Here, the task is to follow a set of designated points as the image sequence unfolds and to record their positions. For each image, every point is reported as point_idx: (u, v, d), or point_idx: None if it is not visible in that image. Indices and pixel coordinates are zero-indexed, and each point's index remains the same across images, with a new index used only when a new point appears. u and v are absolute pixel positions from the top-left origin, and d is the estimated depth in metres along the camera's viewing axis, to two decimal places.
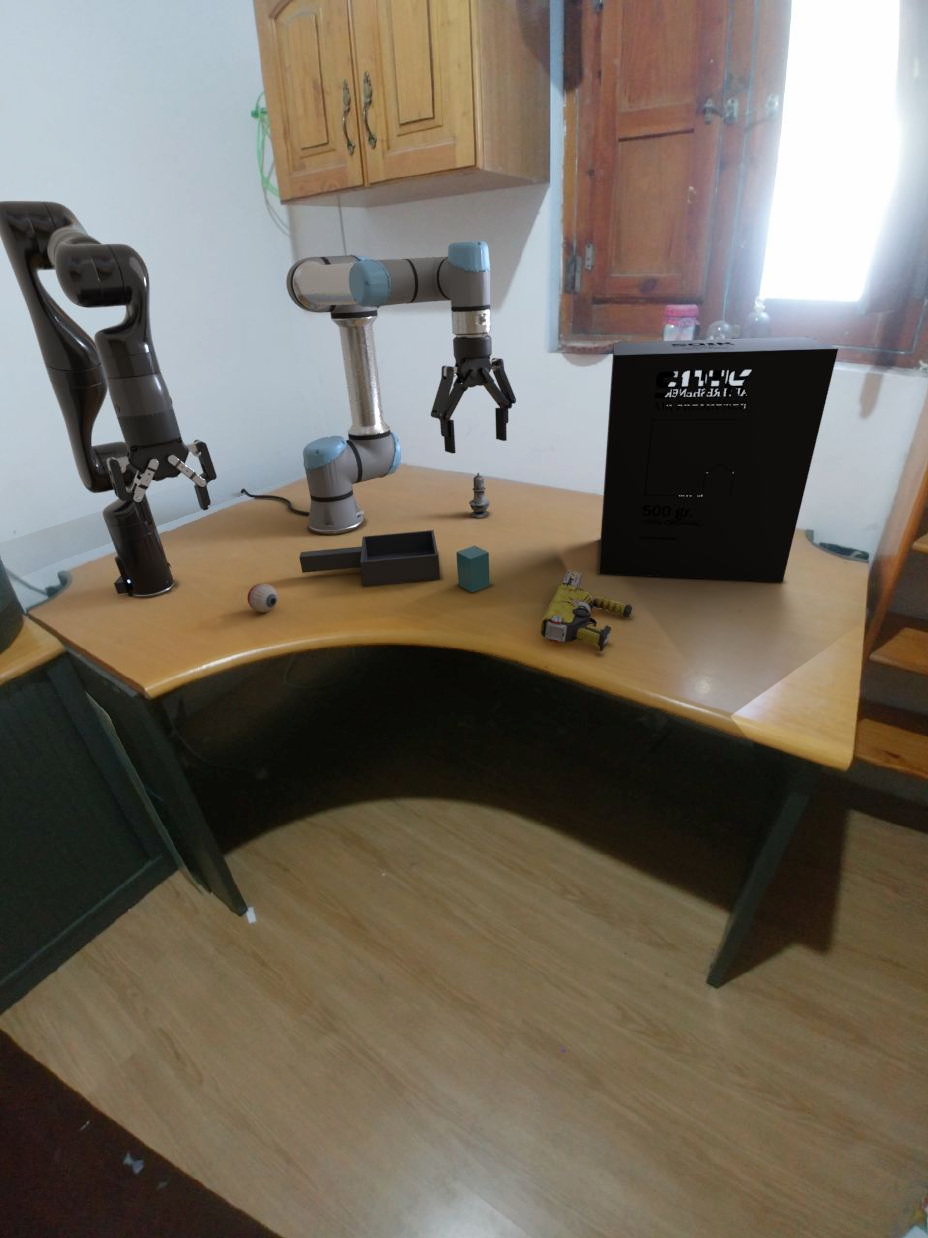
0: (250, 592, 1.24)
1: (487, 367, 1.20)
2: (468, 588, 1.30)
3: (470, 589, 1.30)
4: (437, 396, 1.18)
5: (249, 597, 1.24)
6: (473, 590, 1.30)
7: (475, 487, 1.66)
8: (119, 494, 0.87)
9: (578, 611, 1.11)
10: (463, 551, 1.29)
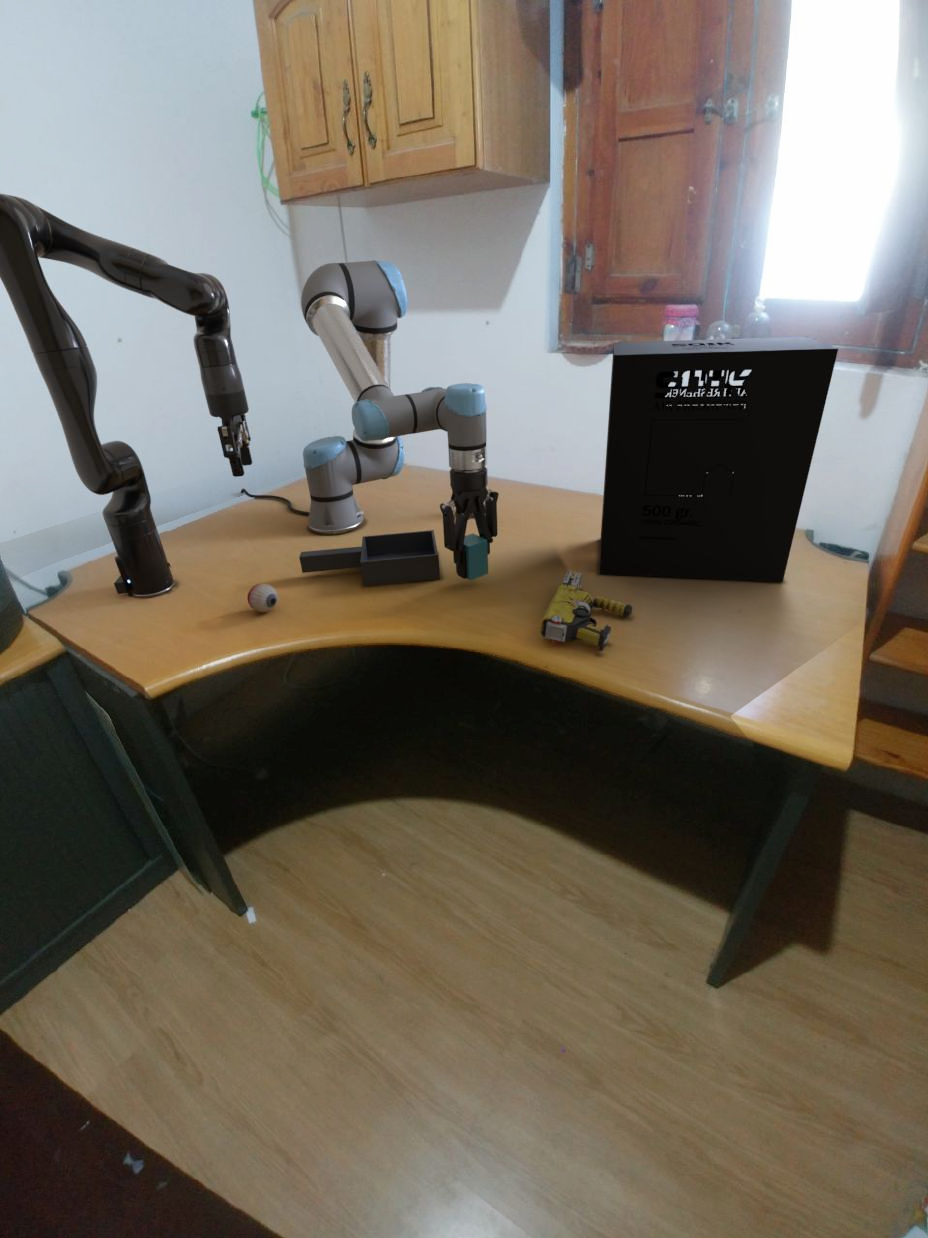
0: (250, 592, 1.24)
1: (483, 495, 1.23)
2: None
3: (468, 577, 1.29)
4: (444, 531, 1.23)
5: (249, 597, 1.24)
6: (471, 578, 1.29)
7: None
8: None
9: (578, 611, 1.11)
10: None
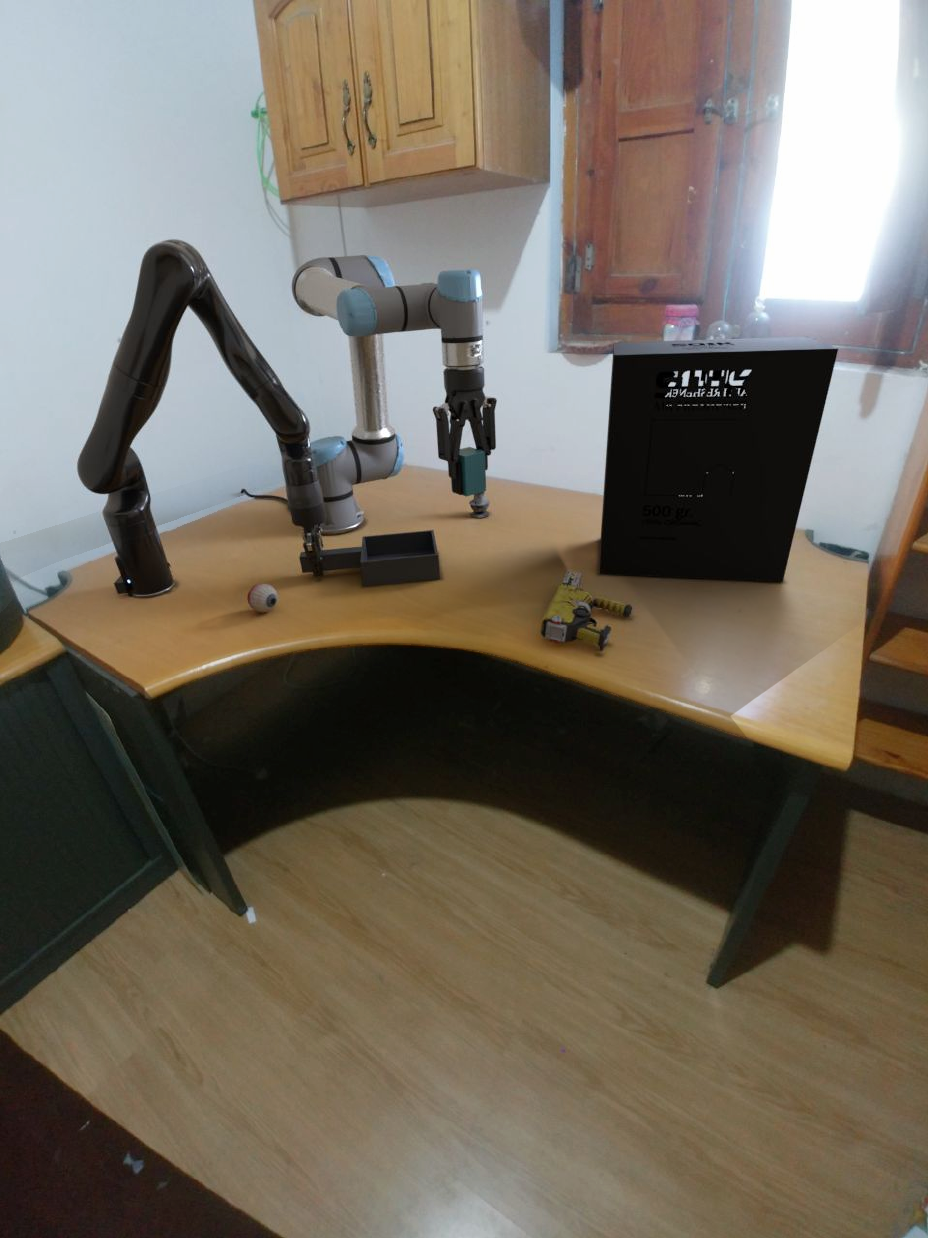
0: (250, 592, 1.24)
1: (480, 399, 1.14)
2: None
3: (464, 492, 1.19)
4: (438, 439, 1.14)
5: (249, 597, 1.24)
6: (468, 494, 1.19)
7: None
8: None
9: (578, 611, 1.11)
10: None
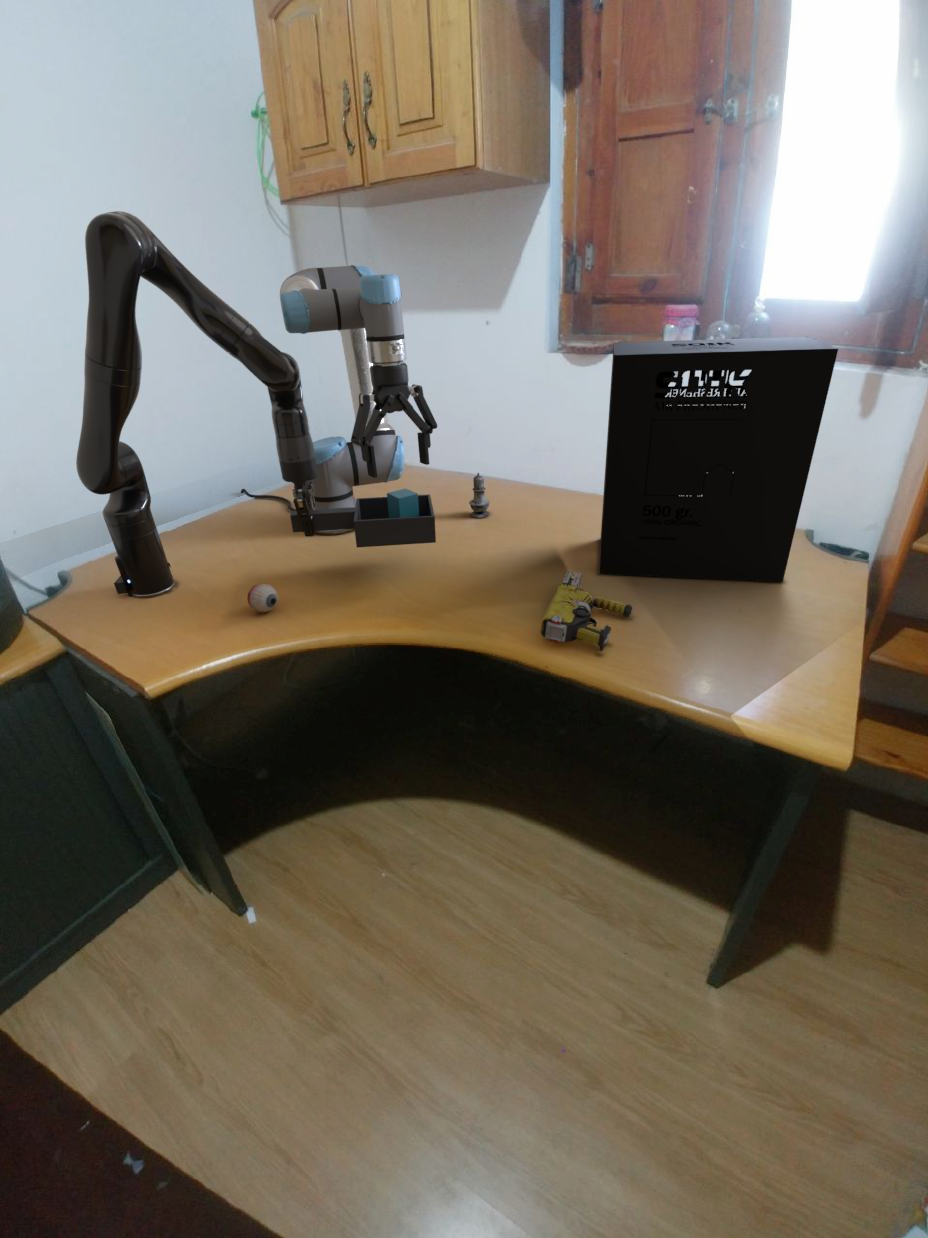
0: (250, 592, 1.24)
1: (405, 393, 1.23)
2: None
3: None
4: (355, 423, 1.21)
5: (249, 597, 1.24)
6: None
7: (475, 487, 1.66)
8: None
9: (578, 611, 1.11)
10: (393, 492, 1.34)
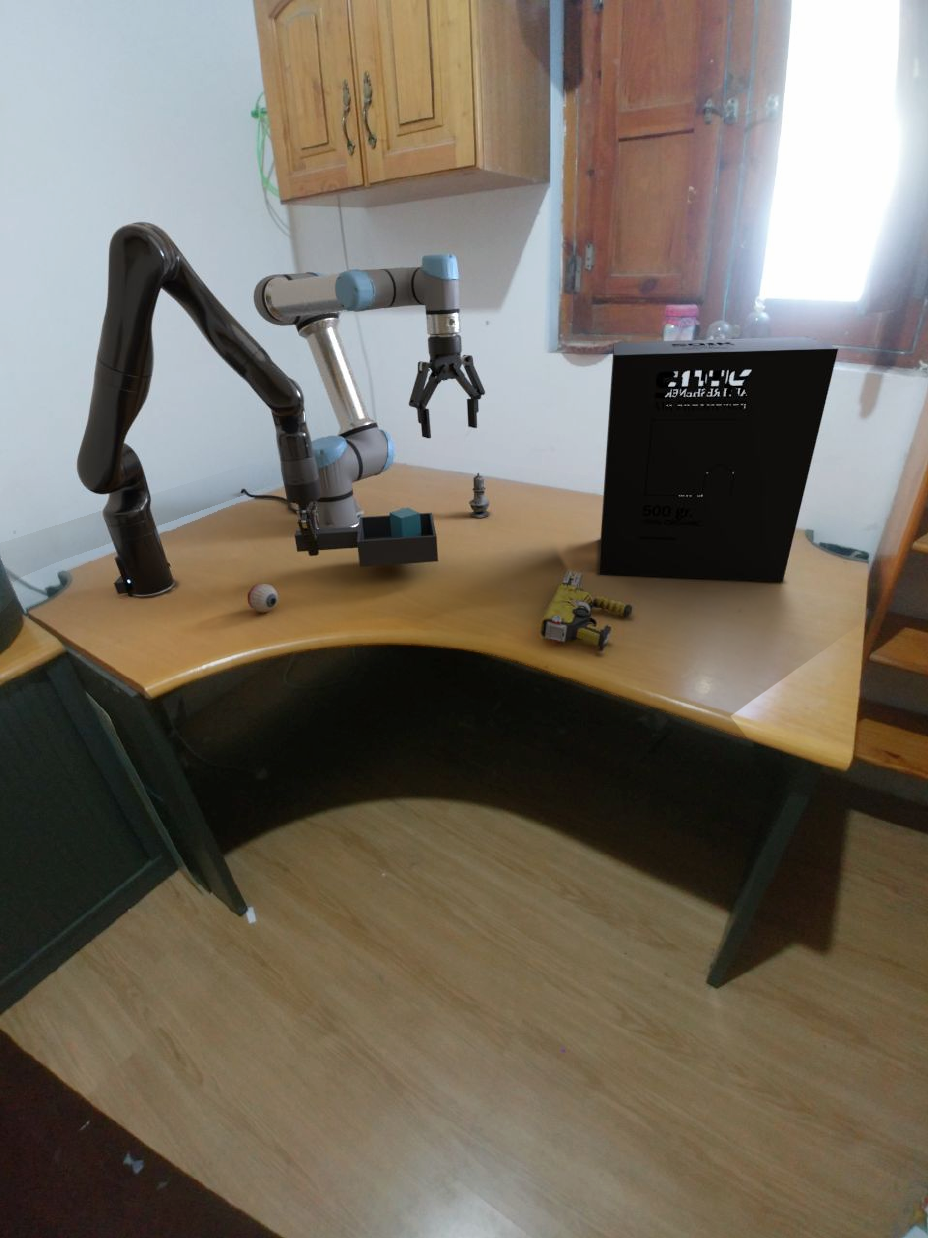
0: (250, 592, 1.24)
1: (458, 363, 1.38)
2: None
3: None
4: (414, 388, 1.36)
5: (249, 597, 1.24)
6: None
7: (475, 487, 1.66)
8: None
9: (578, 611, 1.11)
10: (396, 512, 1.36)
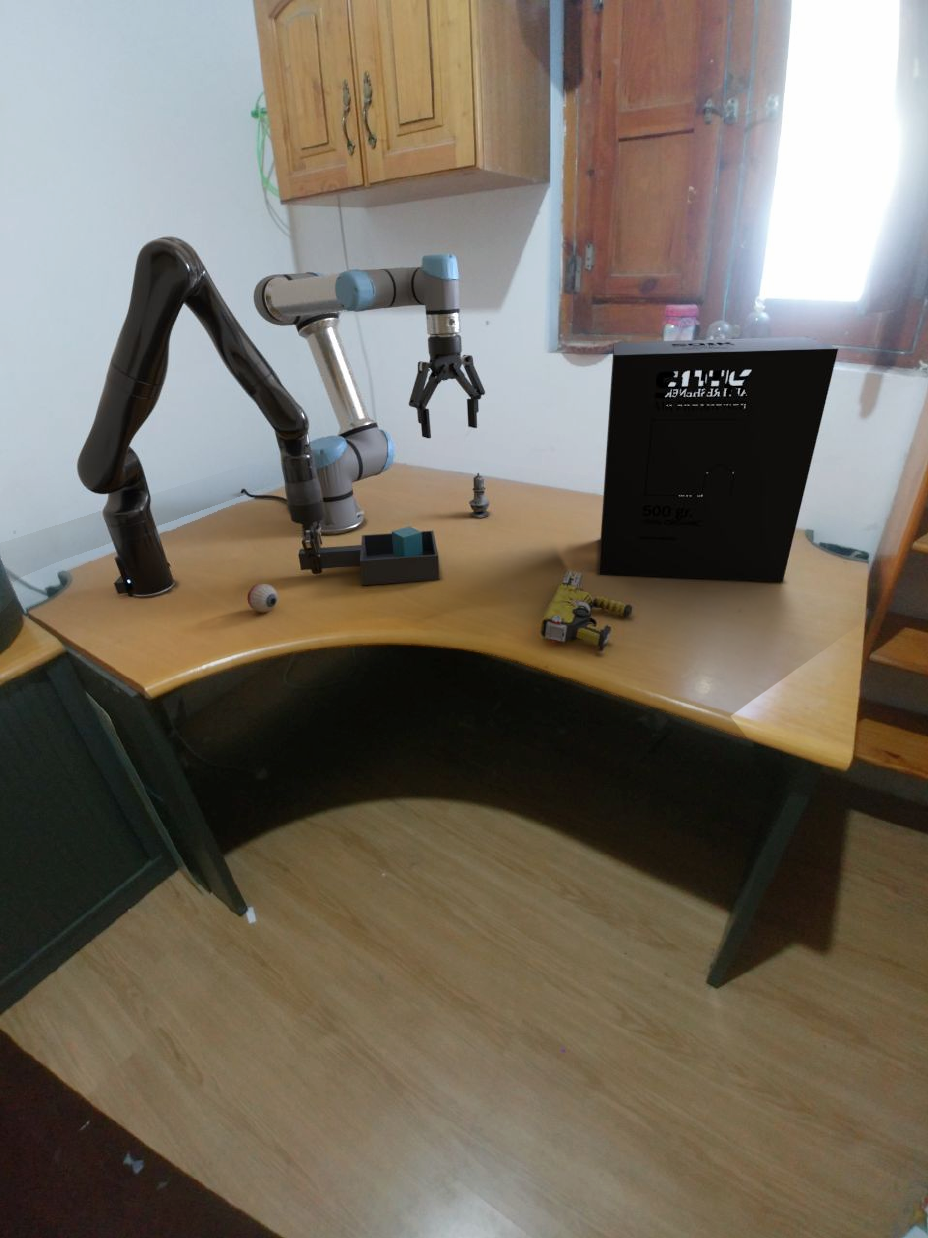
0: (250, 592, 1.24)
1: (458, 363, 1.38)
2: None
3: None
4: (414, 388, 1.36)
5: (249, 597, 1.24)
6: None
7: (475, 487, 1.66)
8: None
9: (578, 611, 1.11)
10: (398, 531, 1.38)
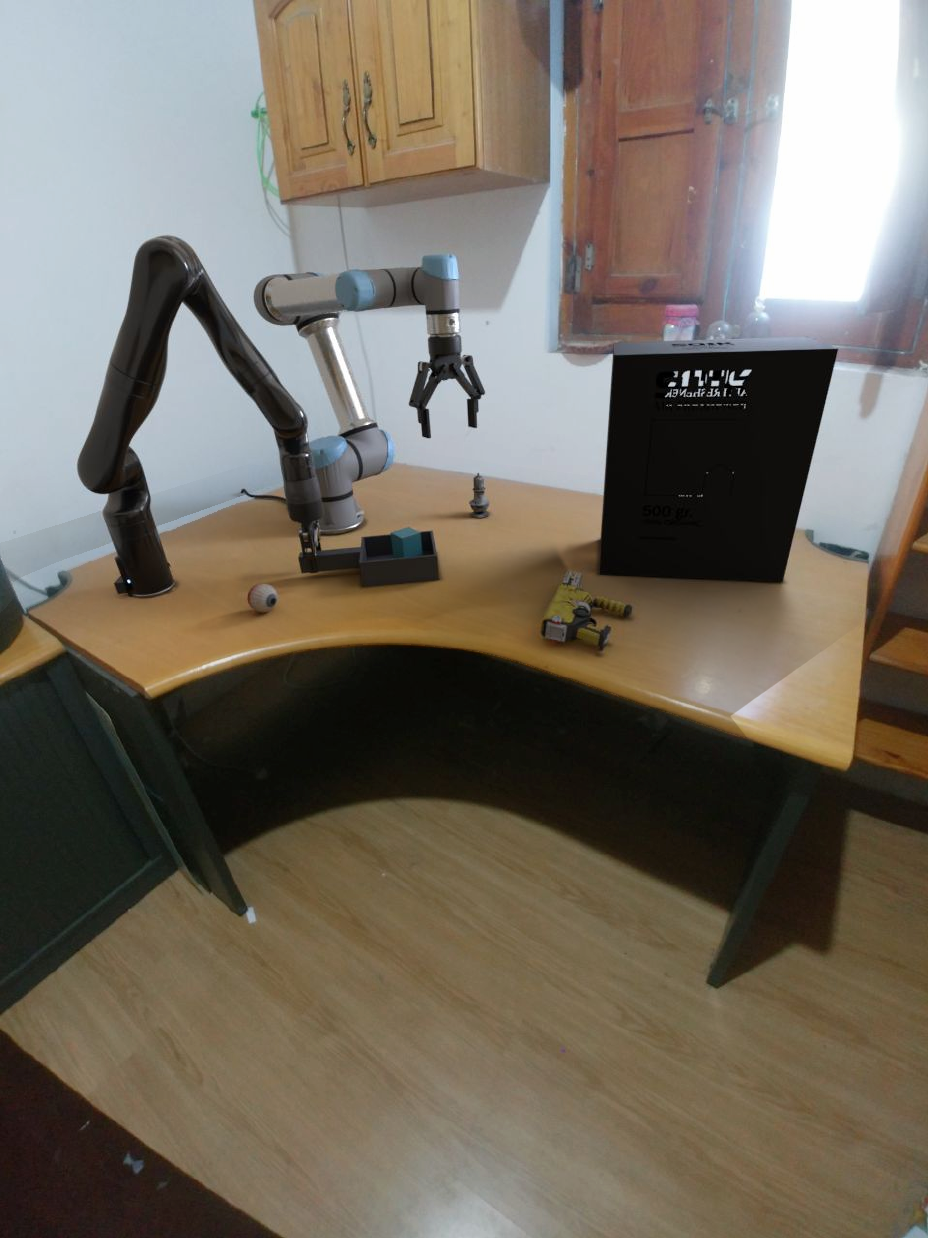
0: (250, 592, 1.24)
1: (458, 363, 1.38)
2: None
3: None
4: (414, 388, 1.36)
5: (249, 597, 1.24)
6: None
7: (475, 487, 1.66)
8: None
9: (578, 611, 1.11)
10: (397, 531, 1.39)
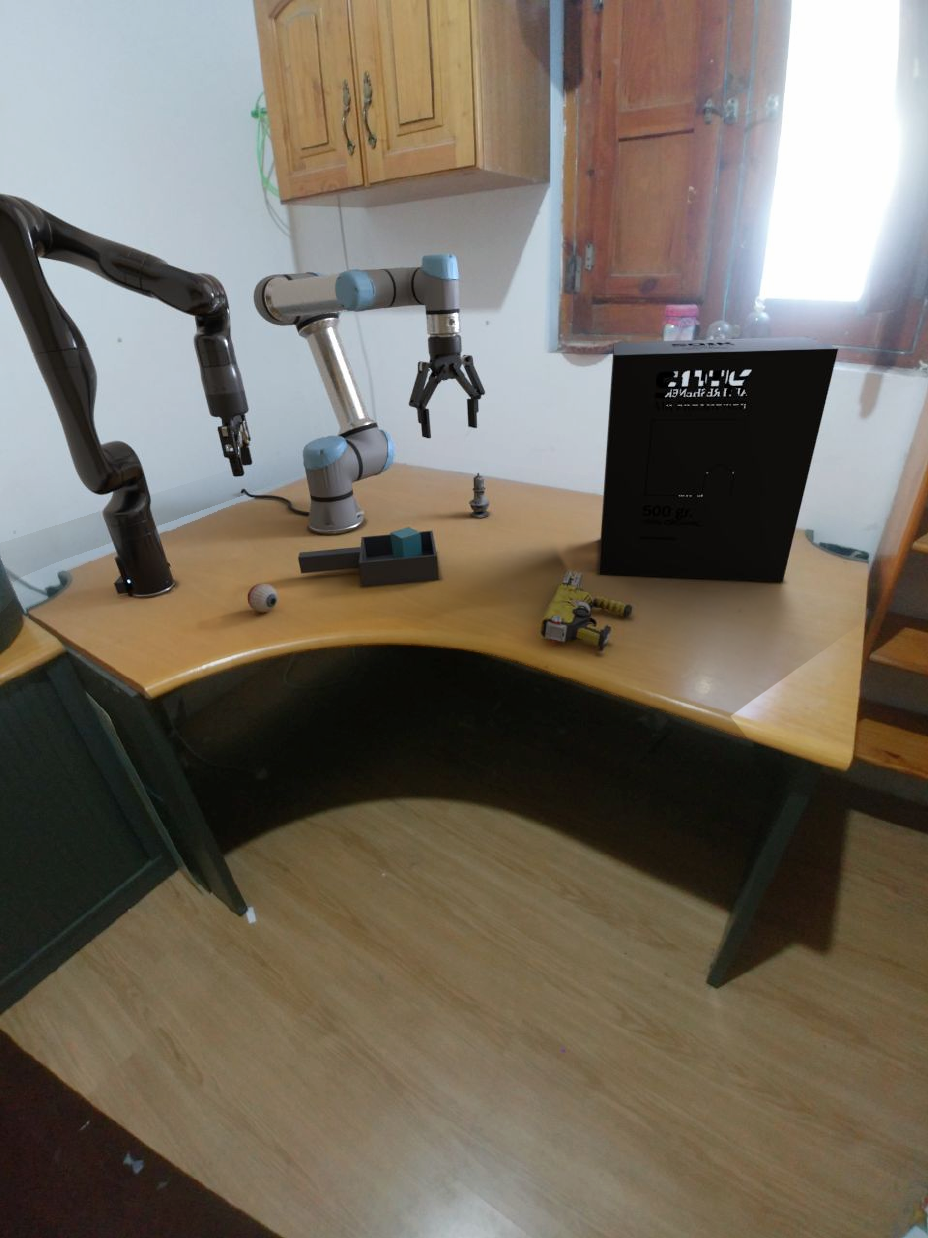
0: (250, 592, 1.24)
1: (458, 363, 1.38)
2: None
3: None
4: (414, 388, 1.36)
5: (249, 597, 1.24)
6: None
7: (475, 487, 1.66)
8: None
9: (578, 611, 1.11)
10: (397, 531, 1.39)
